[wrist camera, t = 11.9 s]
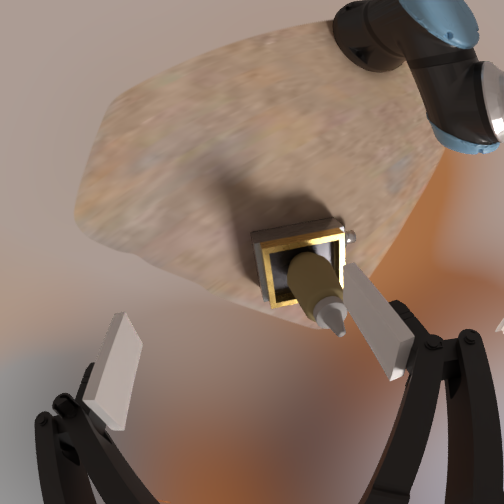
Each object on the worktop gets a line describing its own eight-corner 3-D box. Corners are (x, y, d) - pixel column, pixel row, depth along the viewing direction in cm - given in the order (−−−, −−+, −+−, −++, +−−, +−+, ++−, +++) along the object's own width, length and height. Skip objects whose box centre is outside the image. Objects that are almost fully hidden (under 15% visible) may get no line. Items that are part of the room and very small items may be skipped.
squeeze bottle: (297, 237, 47) (336, 300, 31) (334, 255, 49) (380, 317, 33) (273, 276, 50) (298, 348, 34) (310, 291, 52) (344, 360, 36)
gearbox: (347, 214, 52) (365, 228, 45) (348, 268, 57) (363, 287, 51) (250, 232, 51) (255, 250, 45) (260, 287, 57) (265, 309, 50)
